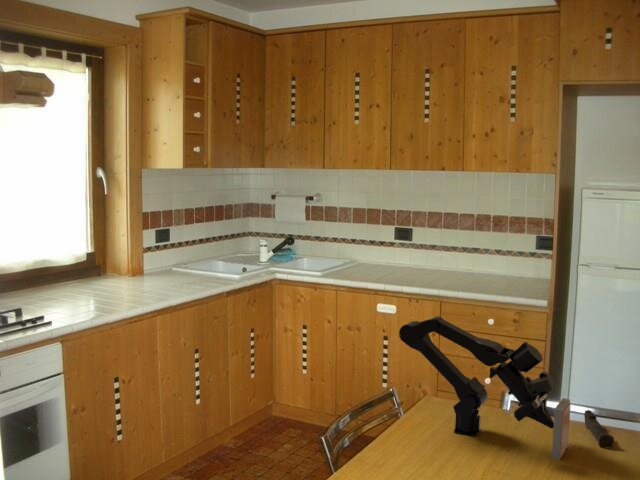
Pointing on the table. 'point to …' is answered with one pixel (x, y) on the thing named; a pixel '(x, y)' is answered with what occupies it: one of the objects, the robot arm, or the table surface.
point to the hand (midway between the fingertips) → (553, 427)
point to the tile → (561, 428)
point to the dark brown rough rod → (598, 430)
